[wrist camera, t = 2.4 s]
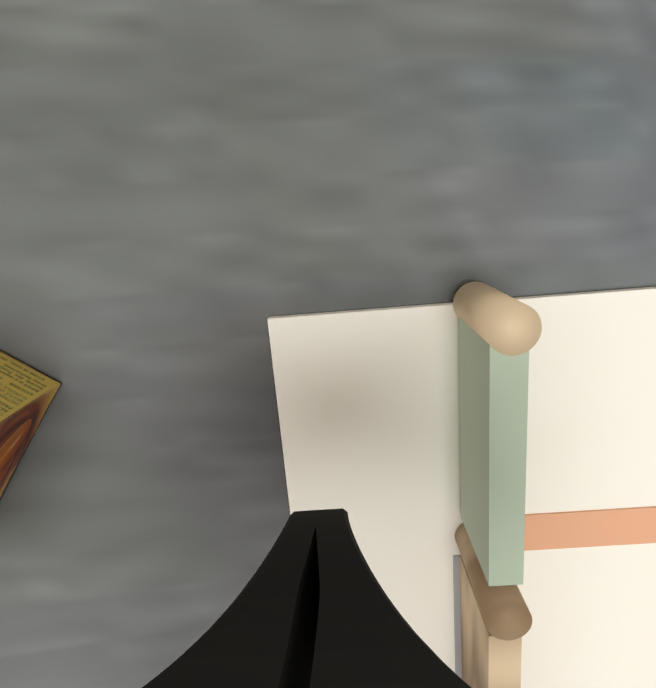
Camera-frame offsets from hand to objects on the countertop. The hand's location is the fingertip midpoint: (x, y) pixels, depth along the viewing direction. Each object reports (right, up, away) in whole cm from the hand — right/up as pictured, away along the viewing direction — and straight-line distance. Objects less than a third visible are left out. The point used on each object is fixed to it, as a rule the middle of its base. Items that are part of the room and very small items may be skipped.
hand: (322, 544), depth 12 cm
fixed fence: (+7, -9, +11) cm, 16 cm away
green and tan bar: (+6, +2, +8) cm, 10 cm away
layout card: (+9, -4, +10) cm, 14 cm away
